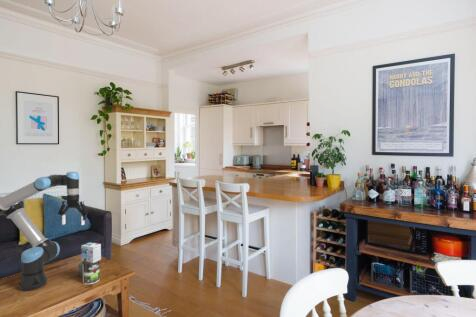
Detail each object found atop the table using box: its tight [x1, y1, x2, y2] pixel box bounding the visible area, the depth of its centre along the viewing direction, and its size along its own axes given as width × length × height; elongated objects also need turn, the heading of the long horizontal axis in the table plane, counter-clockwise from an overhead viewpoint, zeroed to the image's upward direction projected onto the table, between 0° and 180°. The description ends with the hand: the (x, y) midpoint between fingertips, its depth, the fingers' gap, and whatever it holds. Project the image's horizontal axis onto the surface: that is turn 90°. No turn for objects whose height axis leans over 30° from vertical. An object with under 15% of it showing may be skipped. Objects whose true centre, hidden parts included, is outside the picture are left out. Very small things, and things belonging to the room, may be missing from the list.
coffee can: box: [81, 260, 101, 285], centre depth 191 cm, size 10×10×14 cm
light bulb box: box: [80, 242, 102, 263], centre depth 190 cm, size 11×7×11 cm, turn 71°
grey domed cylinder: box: [77, 262, 83, 277], centre depth 200 cm, size 5×5×8 cm
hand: (73, 224), depth 196 cm, fingers open, 13 cm apart
